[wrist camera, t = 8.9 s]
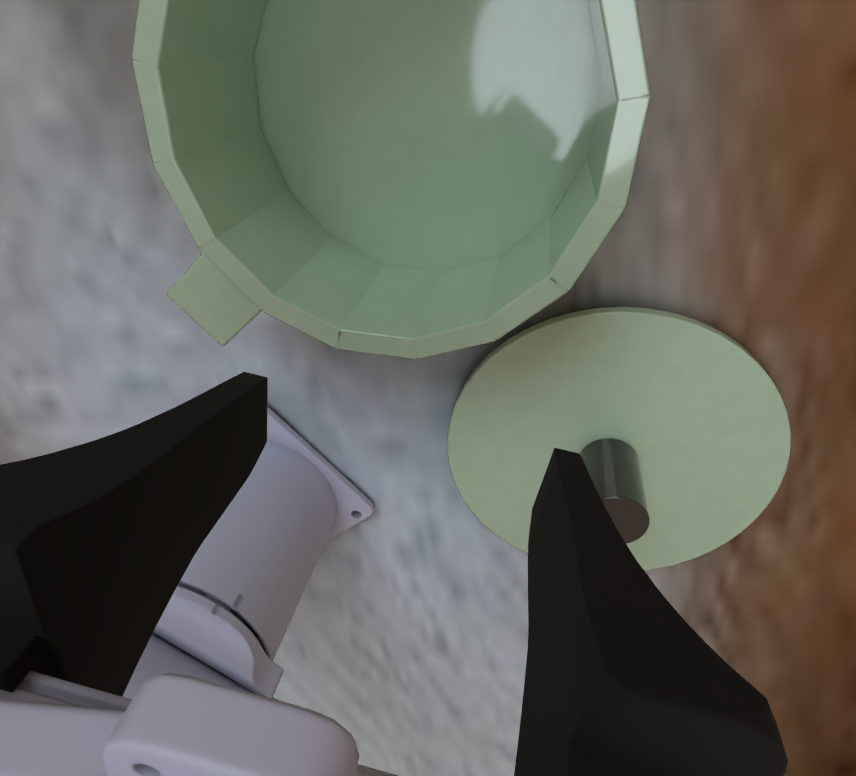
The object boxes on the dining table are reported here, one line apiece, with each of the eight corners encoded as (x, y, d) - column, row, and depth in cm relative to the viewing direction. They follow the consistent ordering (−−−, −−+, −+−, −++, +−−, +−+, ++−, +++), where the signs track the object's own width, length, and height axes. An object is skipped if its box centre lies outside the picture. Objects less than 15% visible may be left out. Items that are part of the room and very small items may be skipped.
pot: (789, 57, 17) (887, 75, 12) (368, 372, 25) (322, 459, 20) (525, -414, 13) (506, -676, 8) (137, 138, 22) (11, 174, 17)
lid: (843, 479, 24) (898, 568, 20) (567, 589, 30) (568, 672, 26) (665, 225, 20) (690, 275, 16) (390, 412, 26) (361, 480, 22)
